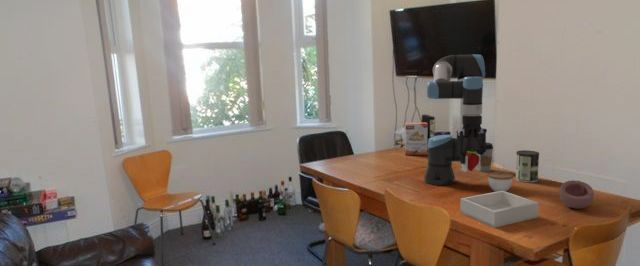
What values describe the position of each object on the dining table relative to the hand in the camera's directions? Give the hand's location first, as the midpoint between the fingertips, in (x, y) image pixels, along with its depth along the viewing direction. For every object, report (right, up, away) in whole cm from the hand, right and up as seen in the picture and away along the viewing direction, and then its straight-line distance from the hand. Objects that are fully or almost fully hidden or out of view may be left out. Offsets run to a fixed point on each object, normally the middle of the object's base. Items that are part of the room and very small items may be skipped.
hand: (470, 170), depth 181 cm
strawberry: (0, -1, 0) cm, 0 cm away
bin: (+8, -17, -9) cm, 21 cm away
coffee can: (+41, -8, +38) cm, 57 cm away
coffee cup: (+27, -5, +58) cm, 65 cm away
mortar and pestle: (+41, -15, -4) cm, 44 cm away
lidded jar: (+21, -12, +22) cm, 33 cm away
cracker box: (0, +1, +104) cm, 104 cm away
